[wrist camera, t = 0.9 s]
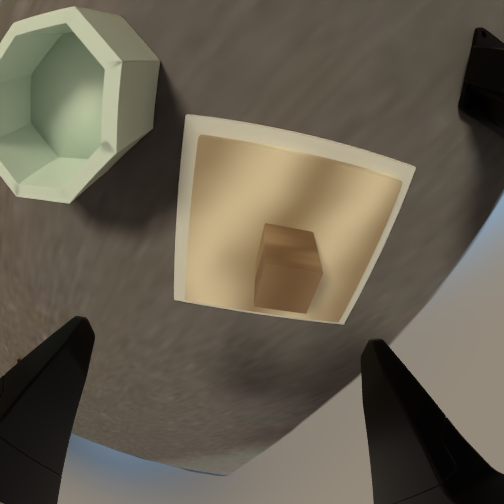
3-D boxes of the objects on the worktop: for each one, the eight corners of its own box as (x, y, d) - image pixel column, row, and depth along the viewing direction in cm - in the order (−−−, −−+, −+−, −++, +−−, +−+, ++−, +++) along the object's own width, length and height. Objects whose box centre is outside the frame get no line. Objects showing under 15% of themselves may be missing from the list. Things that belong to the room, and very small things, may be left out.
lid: (397, 177, 17) (432, 214, 13) (336, 315, 23) (346, 363, 20) (200, 134, 16) (178, 159, 12) (186, 292, 23) (173, 341, 19)
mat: (413, 165, 16) (416, 167, 16) (342, 321, 24) (343, 324, 24) (187, 114, 15) (185, 115, 15) (175, 296, 23) (173, 299, 23)
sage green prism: (168, 13, 12) (133, -3, 8) (150, 173, 18) (117, 211, 14) (33, 30, 11) (-18, 34, 7) (31, 163, 17) (-12, 193, 13)
